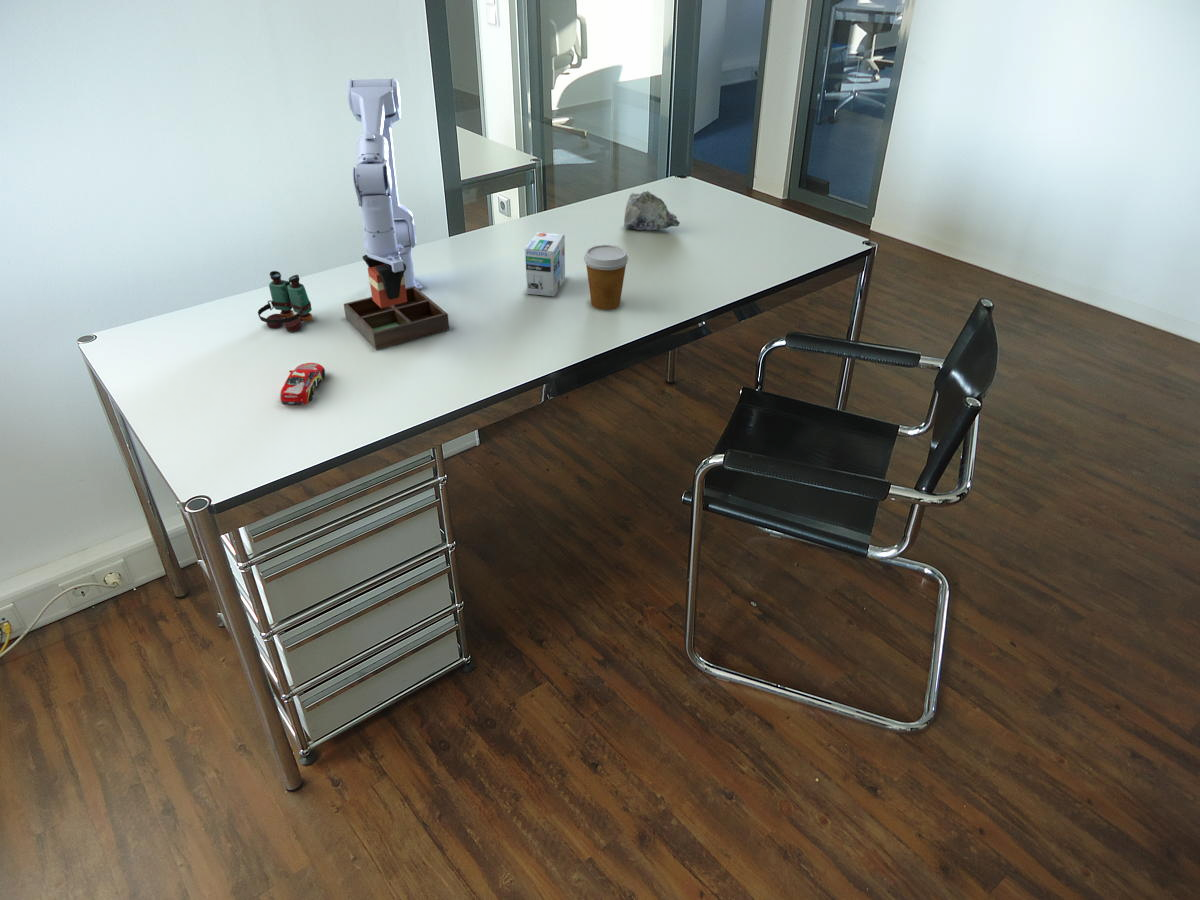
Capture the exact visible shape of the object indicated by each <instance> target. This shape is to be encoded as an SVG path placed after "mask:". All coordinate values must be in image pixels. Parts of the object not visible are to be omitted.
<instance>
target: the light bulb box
mask: <svg viewBox="0 0 1200 900" xmlns="http://www.w3.org/2000/svg"><path fill="white" fill-rule="evenodd" d="M524 255H525V258H524V259H525V280H526V294H528V295H534V296H536V295H537V296H545V297H552V298H553V297H556V295H557V293H558V292H559V290H560V288H561V287H562V285H563V284H564V282H565V280H566V236H565V234H562V233H561V234H560V233H550V232H542V231H536V233H535V234H534V236H532V239H531V240H530V241H529V242H528V244H527V245H526V247H525V248H524Z"/></svg>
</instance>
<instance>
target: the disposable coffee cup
mask: <svg viewBox="0 0 1200 900" xmlns="http://www.w3.org/2000/svg"><path fill="white" fill-rule="evenodd" d="M629 258H630V257H629V255H628V253H627V251H626V249H624V247H621V246H619V245H613V244H598V245H593V246H591V247H589V248H587V250H586V251H585V254H584V256H583V260H584V261H583V262H584V263H585V265H586V273H587V279H588V280H587V282H588V289H589V296H590V304H591V306H592V308H594V309H596V310H599V311H611V310H616V309H617V308H619V307H620V305H621V299H622V293H623V287H624V280H625V274H626V268H627V264H628V262H629Z"/></svg>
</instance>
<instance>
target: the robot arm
mask: <svg viewBox="0 0 1200 900" xmlns="http://www.w3.org/2000/svg"><path fill="white" fill-rule="evenodd" d="M399 85H400V84H399V81H398V80H397V79H396V77H392V78H370V79H369V78H368V79H353V78H349V79H348V81H347V82H346V93H347V100H348V101H347V102H348V105H349V109H350V112H352V115H353V117H355V120H356V121H357V122H360V123H361V127H362V133H361V134H360V135H359V136H358V137H357V140H356V166H353V167H352V182H353V188H354V191H355V195H356V198H357V204H358V206H359V207H360V213H361V219H362V225H363V232H364V237H365V238H363V239H362V240H363V241H362V242H363V246H364V249H365V252H366V254H363V256H362V260H363V261H364V263H365V264H366V265H367V268H370V267H374V266H377V267H375V269H376V270H377V272H378V273H379V275H380V277H381V279H382V281H383V284H384V288H385V291H386V294H387V297H388V299H390V300H391V299H394V298H398V297H399V294H400V286H401V280H402V277H403V274H404V277H405V288H409V287H413V286H415V287H416V288H417V289H419V290H420V289H423V285H422V284H420V282H418V281H417V280H416V277H415V271H414V270H415V269H414V262H413V253H412V249H414V248H415V247H416V246H417V232H416V230H417V229H416V224H415V220H414V214H413V212H412V210H411V209H410V208H408V207H406V206H405V205H403V204H401V203H400V199H399V191H398V183H397V173H396V172H397V171H396V163H395V155H394V154H395V153H394V144H393V143H394V142H393V135H392V134H393V133H392V131H393V126H394V123H395V122H399V121H400V120H401V119H402V118H401V116H402V106H401V93H400V86H399ZM382 264H385V265H382ZM378 265H381V266H378Z"/></svg>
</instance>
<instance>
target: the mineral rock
mask: <svg viewBox="0 0 1200 900" xmlns="http://www.w3.org/2000/svg"><path fill="white" fill-rule="evenodd" d="M677 218H678V217H677V216H676V215H675V214H674V213H672V212H670V210H669V209H668V206H667V204H665V201H663V200H662V199H661V198H660V197H658V196H657V195H655V194H653V193H651V192H650V191H648V190H646V191H642V192H641V193H635V192H631V193H630V195H629V198H628V200H627V201H626V206H625V210H624V219H623V220H624V221H623V227H624V228H625V229H627V230H628V229H629V230H639V231H640V230H641V231H642V230H646V231H655V230H656V231H660V230H662V229H669V228H671V227H678V226H680V225H681V222H680V221H679V220H678V219H677Z"/></svg>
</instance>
